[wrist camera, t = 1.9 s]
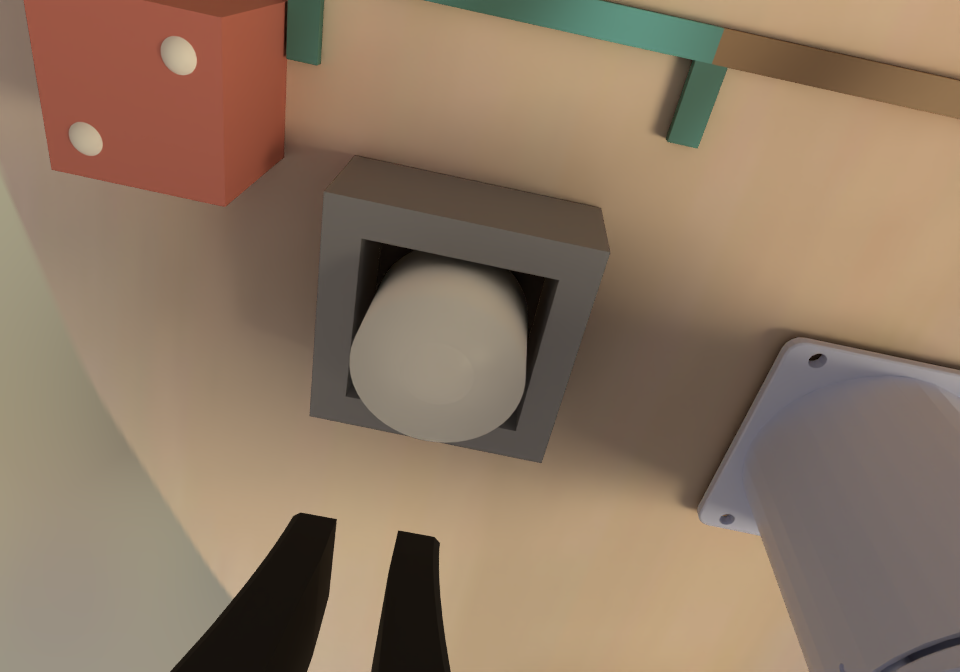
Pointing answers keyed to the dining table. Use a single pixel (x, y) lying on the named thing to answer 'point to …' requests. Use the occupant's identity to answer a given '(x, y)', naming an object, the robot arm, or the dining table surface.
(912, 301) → the dining table surface
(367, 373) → the dome
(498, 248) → the box
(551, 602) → the dining table surface
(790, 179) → the dining table surface
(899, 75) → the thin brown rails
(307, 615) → the robot arm
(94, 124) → the die
